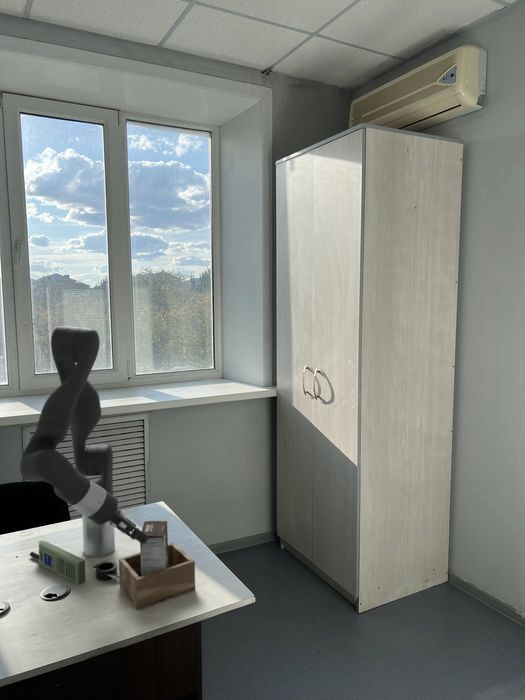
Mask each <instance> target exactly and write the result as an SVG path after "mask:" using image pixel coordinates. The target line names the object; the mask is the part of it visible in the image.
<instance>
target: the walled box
mask: <svg viewBox="0 0 525 700" xmlns="http://www.w3.org/2000/svg"><path fill="white" fill-rule="evenodd" d="M118 571H119V573H118V574H119V575H118V576H119V578H118V579H119V588H120V589H121V591H122V592H123V593H124V595H125V596H126V597H127V598H128V600H129V601H130V602H131V603H132V604H133V606H134V608H135V609H136V610H137V611H140V610H143V609H146V608H148V607H151V606H154V605H158V604H159V603H162V602H165V601H168V600H171V599H173V598H176V597H179V596H182V595H185V594H188V593H191V592H192V591H196V563H195V560H194V559H193V558H192V557H191V556H190V555H188V554H187V553H186V552H185V551H184V550H182V549H181V548H180V547H179V546H178V545H177V544H176V543H175V542H170V543H168V568H166V569H163V570H160V571H157V572H153V573H150V574H147V575H144V576H141V551H140V552H137V553H134V554H133V553H132V554H130V555H128V556H123V557H120V558H118Z"/></svg>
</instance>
